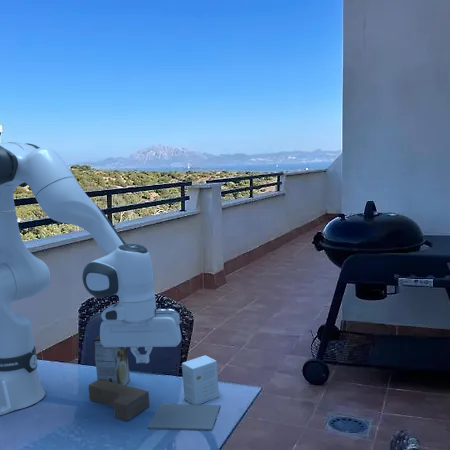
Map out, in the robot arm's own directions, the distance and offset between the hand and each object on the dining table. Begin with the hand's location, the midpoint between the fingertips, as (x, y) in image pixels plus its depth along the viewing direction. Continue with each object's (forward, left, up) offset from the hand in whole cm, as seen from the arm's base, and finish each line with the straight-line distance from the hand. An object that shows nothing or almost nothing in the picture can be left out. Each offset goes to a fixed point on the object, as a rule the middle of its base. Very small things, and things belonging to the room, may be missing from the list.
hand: (143, 362), depth 135 cm
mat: (+10, 0, -15) cm, 18 cm away
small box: (+12, +11, -15) cm, 22 cm away
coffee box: (-15, +17, -15) cm, 27 cm away
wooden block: (-2, +1, -12) cm, 13 cm away
